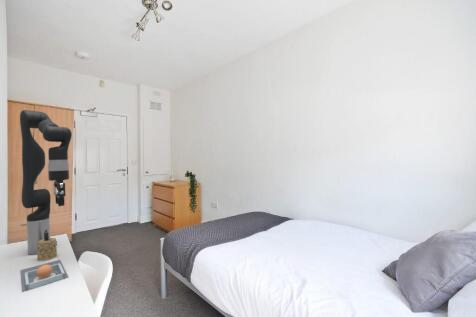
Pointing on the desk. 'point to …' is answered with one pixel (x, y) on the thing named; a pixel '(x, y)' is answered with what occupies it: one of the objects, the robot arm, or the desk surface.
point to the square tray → (44, 281)
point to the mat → (36, 275)
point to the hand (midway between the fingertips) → (59, 204)
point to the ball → (44, 271)
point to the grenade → (46, 247)
